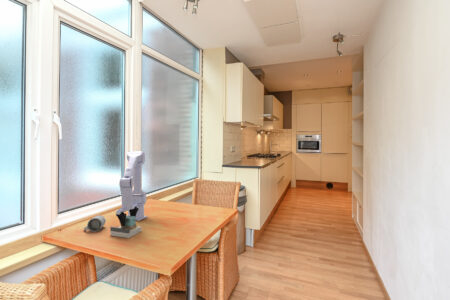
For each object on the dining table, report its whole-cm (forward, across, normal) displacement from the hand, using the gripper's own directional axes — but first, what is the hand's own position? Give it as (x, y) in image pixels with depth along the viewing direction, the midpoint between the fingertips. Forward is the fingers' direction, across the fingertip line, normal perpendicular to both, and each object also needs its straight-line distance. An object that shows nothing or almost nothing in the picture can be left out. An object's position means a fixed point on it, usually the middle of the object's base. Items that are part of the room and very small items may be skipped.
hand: (128, 223), depth 128 cm
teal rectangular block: (+2, 0, 0) cm, 2 cm away
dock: (+5, -2, 0) cm, 5 cm away
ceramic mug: (+5, -2, +22) cm, 23 cm away
